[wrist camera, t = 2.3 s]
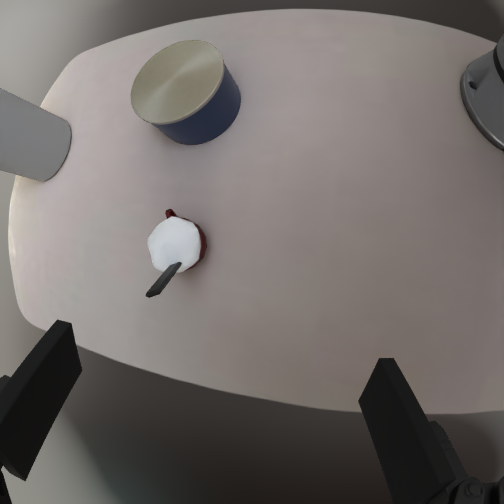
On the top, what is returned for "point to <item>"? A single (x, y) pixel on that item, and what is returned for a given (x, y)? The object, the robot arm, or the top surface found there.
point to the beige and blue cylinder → (187, 92)
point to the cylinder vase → (31, 138)
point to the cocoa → (174, 248)
